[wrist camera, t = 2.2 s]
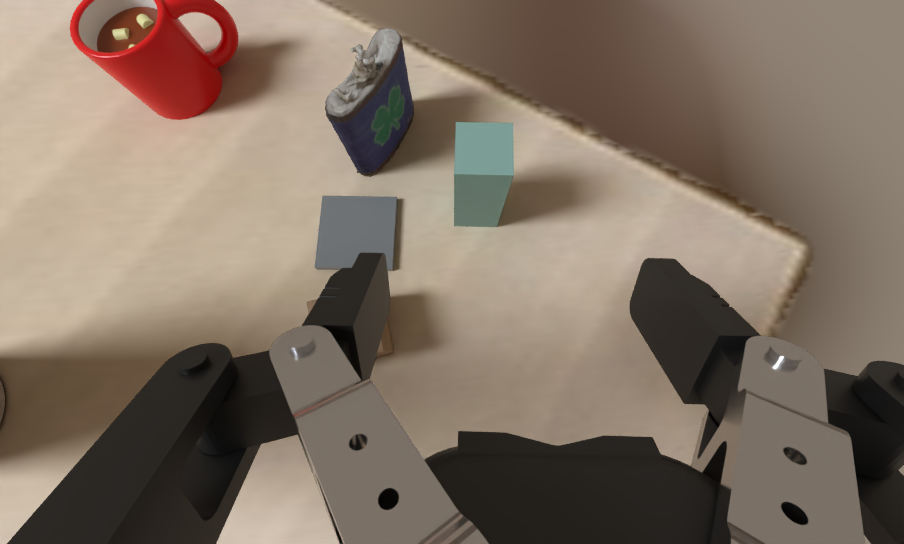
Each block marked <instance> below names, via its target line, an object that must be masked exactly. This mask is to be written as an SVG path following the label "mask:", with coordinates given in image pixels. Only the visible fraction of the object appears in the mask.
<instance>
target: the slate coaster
mask: <svg viewBox="0 0 904 544" xmlns="http://www.w3.org/2000/svg"><path fill="white" fill-rule="evenodd" d="M397 201H398V200H397V197H366V196H323V197H322V206H321V215H320V224H319V233H318V243H317V252H316V261H315V268H316V269H325V270H340V269H342V268H352V266H353V265H354V263H355V261H356V259H357V257H358V255H359V253H361V252H365V253H384V254H385V256H386V262H387V271H393V270H394V252H395V235H396V218H397Z"/></svg>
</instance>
